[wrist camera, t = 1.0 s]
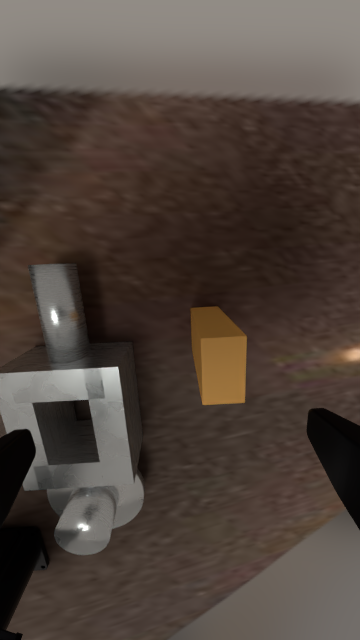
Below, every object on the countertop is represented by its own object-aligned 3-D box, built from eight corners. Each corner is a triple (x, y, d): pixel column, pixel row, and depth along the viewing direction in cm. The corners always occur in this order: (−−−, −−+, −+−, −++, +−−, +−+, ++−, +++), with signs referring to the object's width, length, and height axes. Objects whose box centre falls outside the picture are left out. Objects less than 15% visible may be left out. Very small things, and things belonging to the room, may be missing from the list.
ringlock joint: (150, 497, 24) (143, 569, 19) (71, 501, 24) (38, 576, 18) (124, 261, 18) (99, 260, 12) (14, 267, 18) (-64, 269, 12)
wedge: (217, 348, 20) (244, 402, 12) (192, 350, 20) (202, 405, 12) (217, 306, 19) (246, 336, 11) (190, 307, 19) (200, 338, 11)
